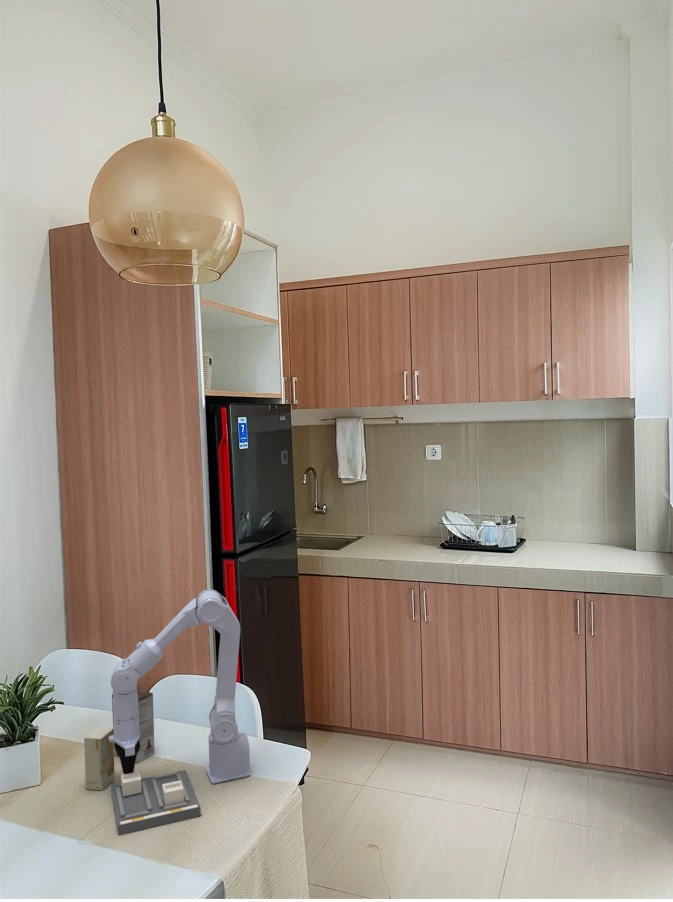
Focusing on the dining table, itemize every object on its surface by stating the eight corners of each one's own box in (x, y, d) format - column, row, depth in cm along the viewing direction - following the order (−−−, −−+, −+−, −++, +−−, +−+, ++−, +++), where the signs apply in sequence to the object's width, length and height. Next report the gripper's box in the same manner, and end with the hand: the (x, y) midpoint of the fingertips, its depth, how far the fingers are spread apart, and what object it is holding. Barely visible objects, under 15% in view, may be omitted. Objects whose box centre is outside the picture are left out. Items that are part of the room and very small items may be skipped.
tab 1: (139, 784, 162) (139, 768, 162) (141, 792, 158) (141, 776, 158) (121, 788, 160) (120, 772, 160) (123, 796, 157) (122, 780, 157)
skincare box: (102, 791, 164) (99, 739, 163) (85, 789, 165) (82, 738, 164) (116, 777, 170) (114, 727, 170) (99, 776, 171) (97, 726, 170)
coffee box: (112, 755, 182) (109, 694, 181) (131, 745, 187) (129, 685, 186) (137, 763, 177) (134, 700, 176) (156, 753, 182) (154, 692, 181)
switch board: (185, 777, 169) (185, 767, 169) (200, 815, 152) (200, 804, 152) (111, 793, 163) (111, 782, 162) (118, 835, 146) (117, 822, 146)
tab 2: (180, 793, 157) (180, 777, 157) (184, 802, 154) (183, 786, 153) (162, 797, 156) (162, 781, 156) (165, 806, 152) (164, 790, 152)
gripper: (105, 707, 170) (108, 763, 171) (110, 731, 157) (112, 791, 157) (136, 702, 173) (138, 757, 173) (143, 725, 159) (145, 784, 160)
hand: (128, 773), depth 165 cm, fingers closed
